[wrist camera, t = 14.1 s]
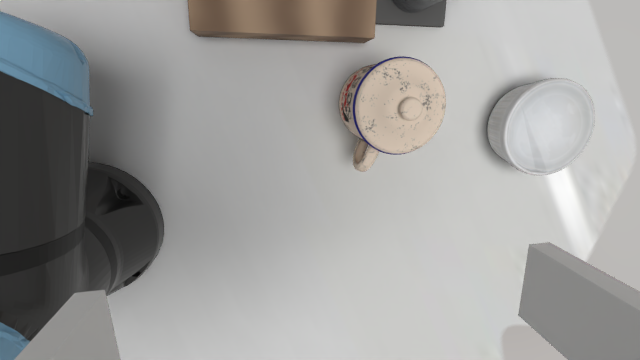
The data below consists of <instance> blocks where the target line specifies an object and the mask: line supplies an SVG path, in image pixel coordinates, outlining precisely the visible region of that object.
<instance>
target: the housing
mask: <svg viewBox="0 0 640 360" xmlns="http://www.w3.org/2000/svg"><path fill="white" fill-rule="evenodd" d="M376 2H377V0H188V9H189V23H190V31H192V32H193V33H195V34H196V35H197V36H202V37H228V38H253V39H279V40H304V41H330V42H355V43H365V42H367V41H369V40H371V39H373V38H374V37H375V20H376Z"/></svg>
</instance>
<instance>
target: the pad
mask: <svg viewBox="0 0 640 360" xmlns="http://www.w3.org/2000/svg"><path fill="white" fill-rule="evenodd" d="M445 9H446V0H442V1H440V2H438V3H436V4H434V5H432V6H430V7H428V8H426V9H423V10H421V11H419V12H415V13H409V12H405V11H402V10H401V9H399V8H398V7H397V6H396V5H395V4H394V3H393V1H392V0H377V2H376V20H375V24H383V25H404V26H426V27H443V26H444V19H445Z"/></svg>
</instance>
